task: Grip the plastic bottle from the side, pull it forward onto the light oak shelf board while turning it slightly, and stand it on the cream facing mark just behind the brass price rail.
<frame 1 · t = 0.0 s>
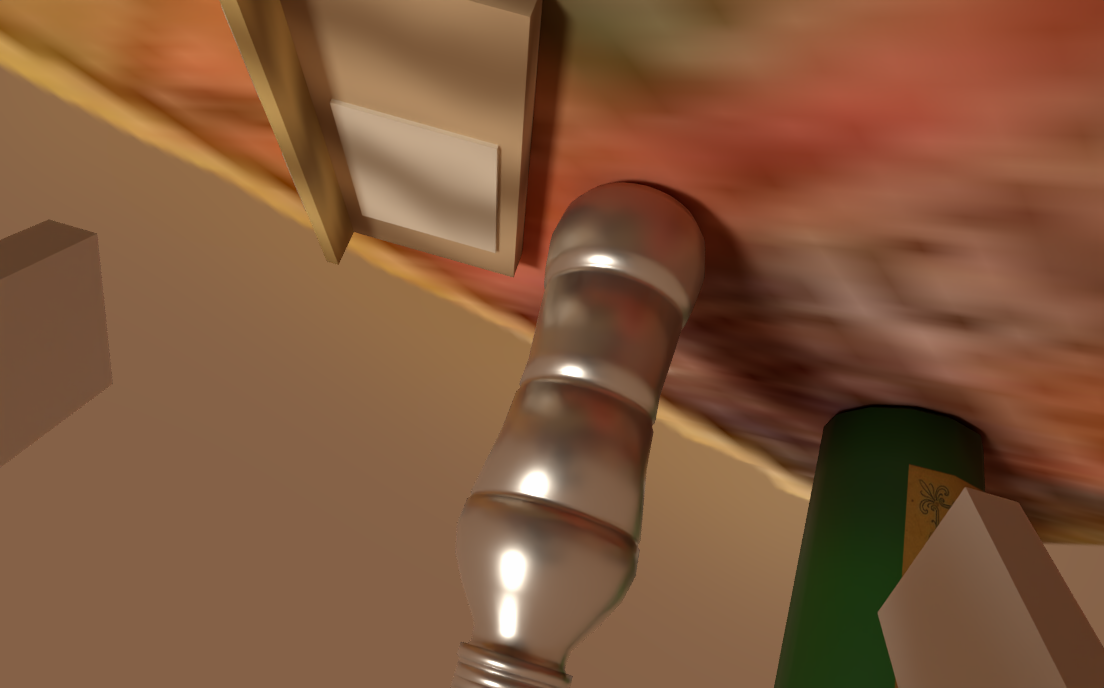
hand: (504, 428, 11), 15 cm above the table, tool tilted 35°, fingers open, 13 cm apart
bottle: (901, 427, 43), on the table
plastic bottle: (640, 208, 31), on the table
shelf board: (424, 122, 29), on the table
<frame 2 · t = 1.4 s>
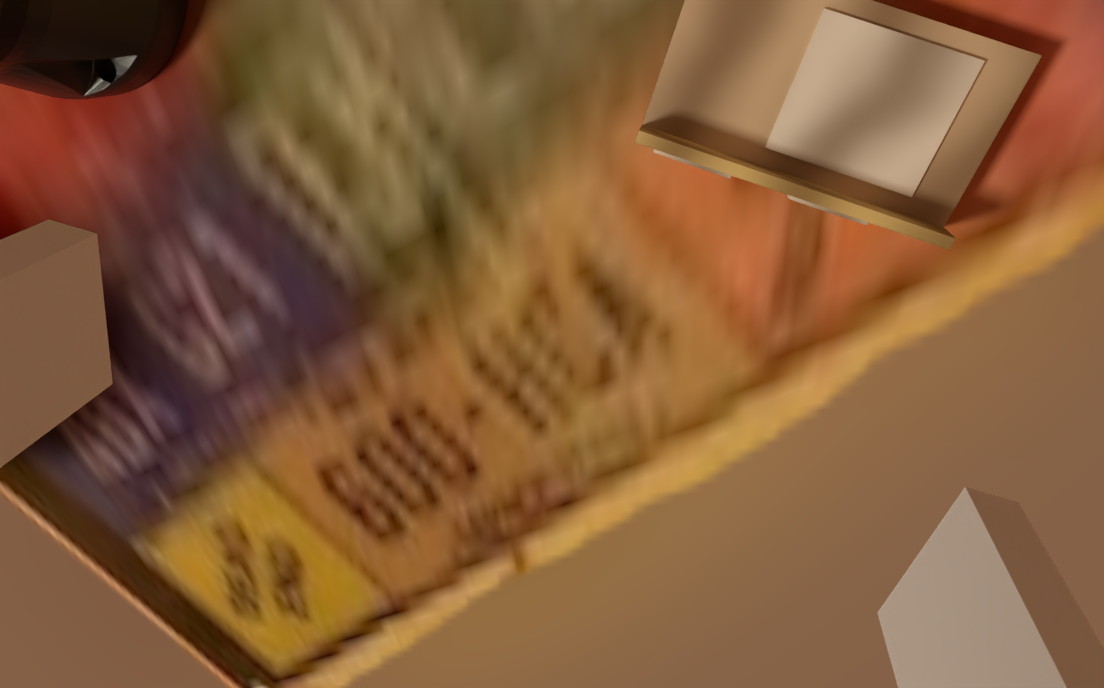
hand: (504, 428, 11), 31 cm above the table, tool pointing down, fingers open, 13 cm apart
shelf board: (821, 95, 36), on the table
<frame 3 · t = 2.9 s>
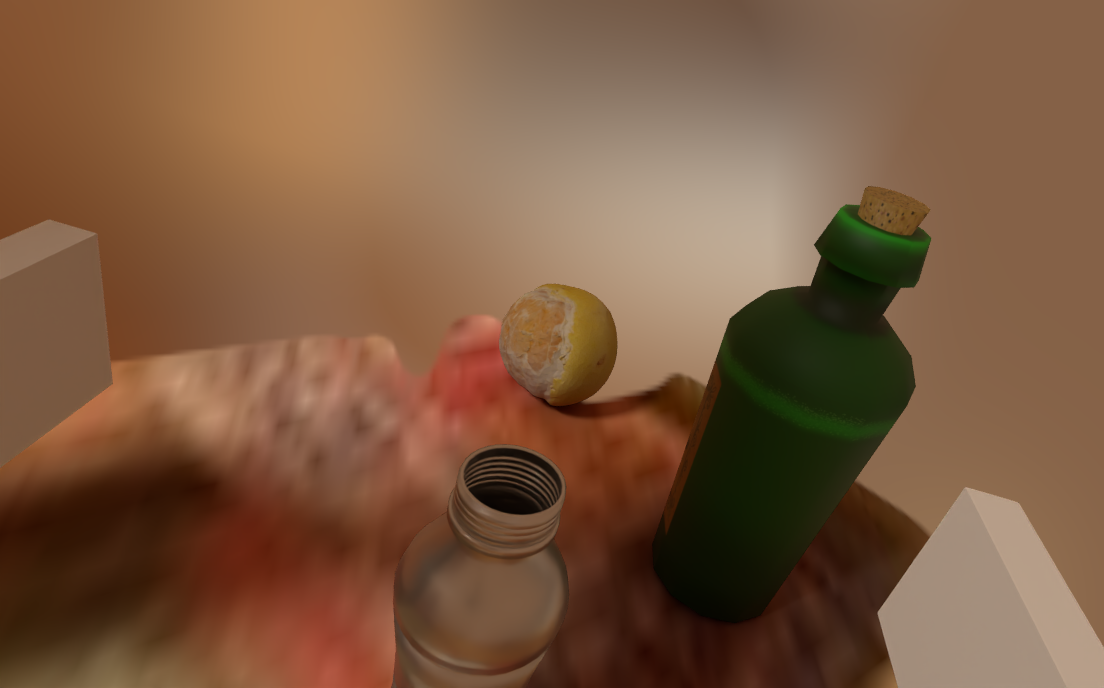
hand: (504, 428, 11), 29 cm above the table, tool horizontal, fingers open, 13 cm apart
fruit: (543, 392, 65), on the table
bottle: (707, 576, 50), on the table
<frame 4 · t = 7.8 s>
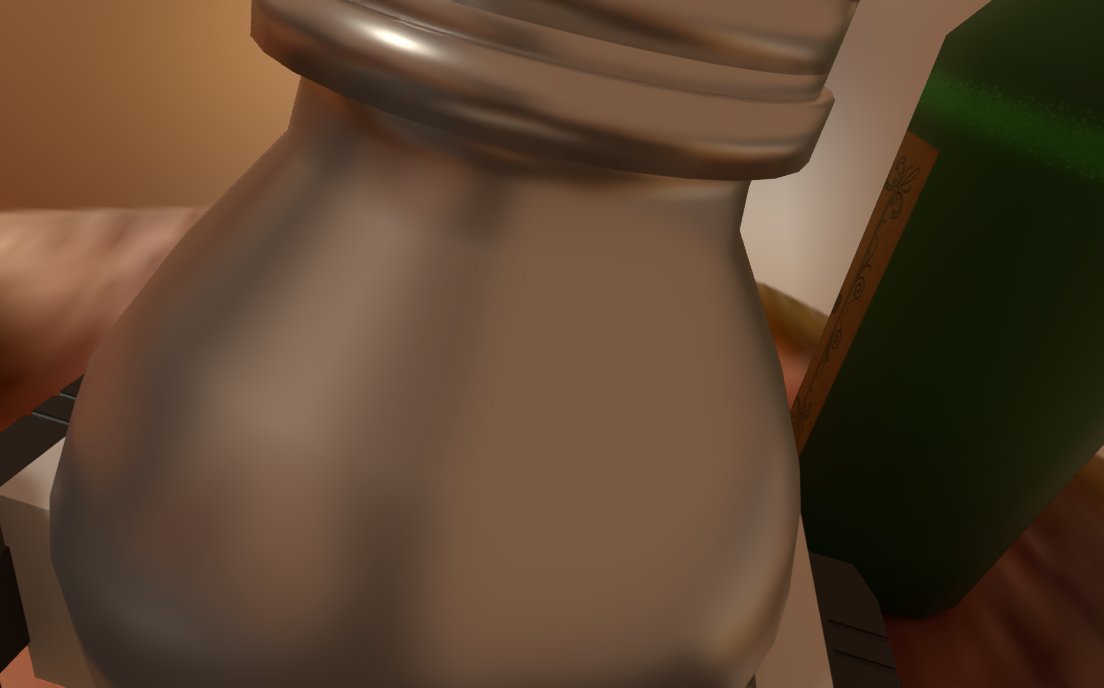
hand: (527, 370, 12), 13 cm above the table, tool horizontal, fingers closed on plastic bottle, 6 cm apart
bottle: (849, 542, 30), on the table
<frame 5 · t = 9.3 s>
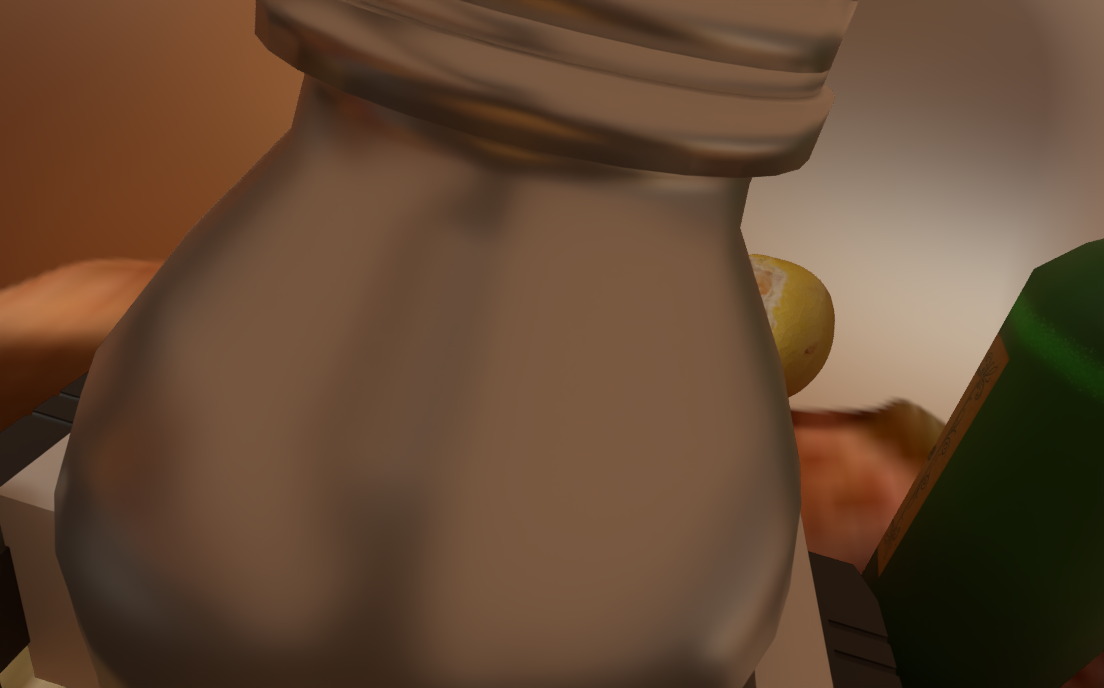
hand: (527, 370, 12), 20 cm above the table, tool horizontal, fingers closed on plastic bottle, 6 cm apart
fruit: (728, 386, 53), on the table
bottle: (929, 653, 36), on the table
when the fingers open (15 cm above the table, at t = 10.8 s): plastic bottle stays where it is, resting on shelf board.
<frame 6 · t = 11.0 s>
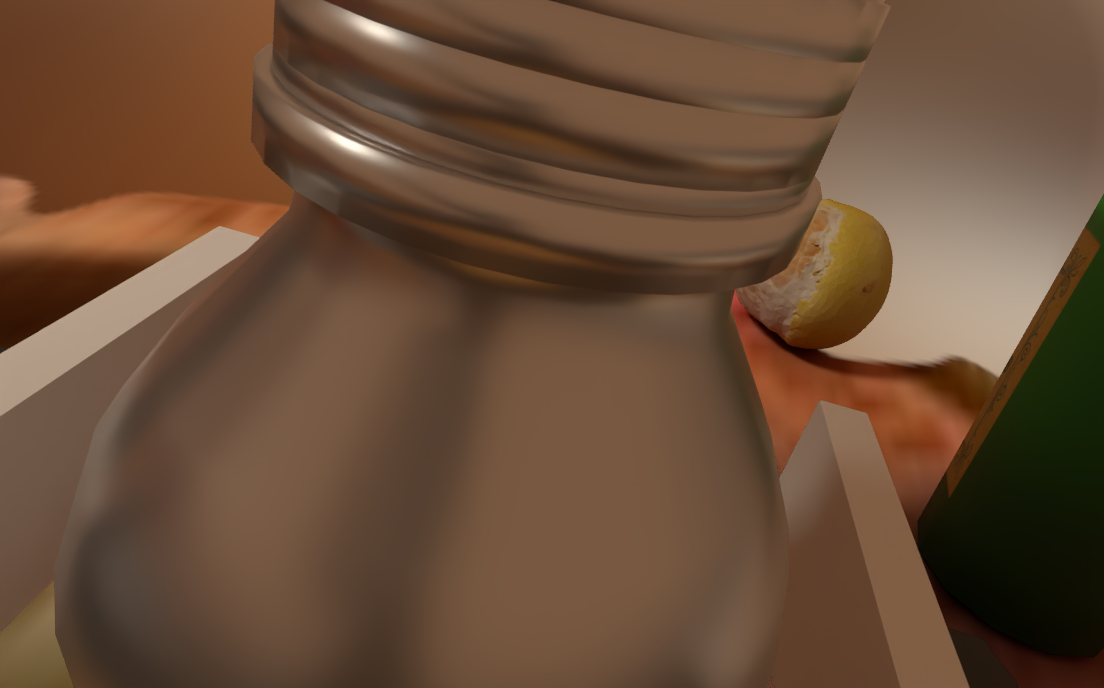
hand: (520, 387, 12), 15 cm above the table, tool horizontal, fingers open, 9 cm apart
fruit: (778, 335, 52), on the table
bottle: (1000, 585, 34), on the table
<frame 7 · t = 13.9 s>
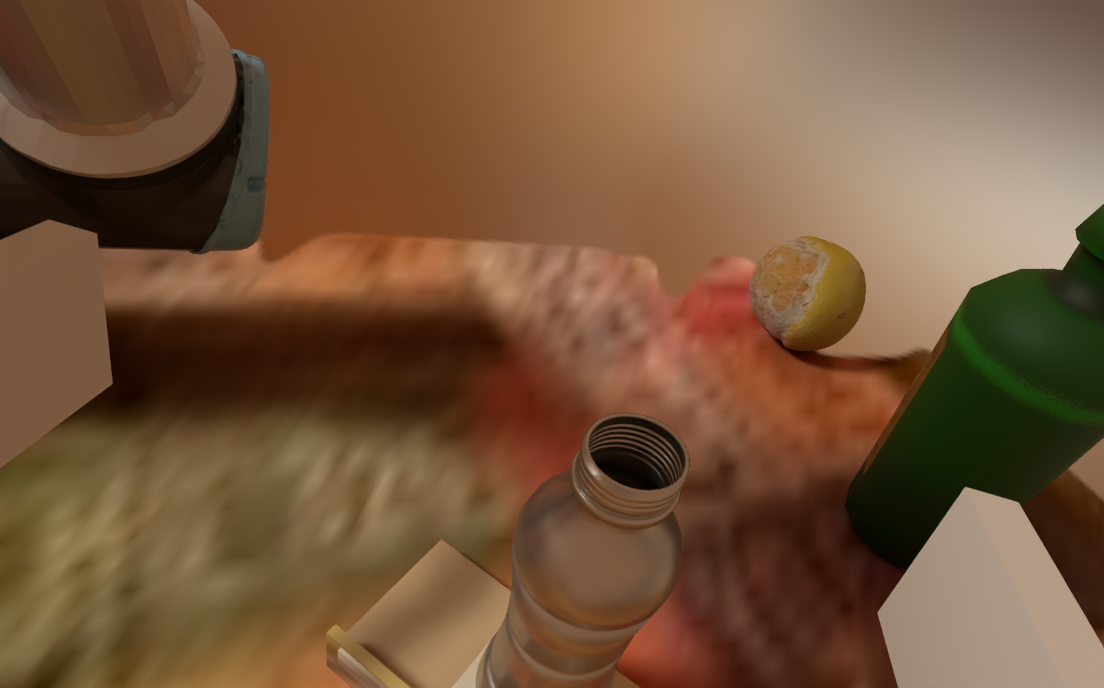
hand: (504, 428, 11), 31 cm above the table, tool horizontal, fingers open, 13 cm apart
fruit: (781, 336, 70), on the table
bottle: (897, 528, 54), on the table
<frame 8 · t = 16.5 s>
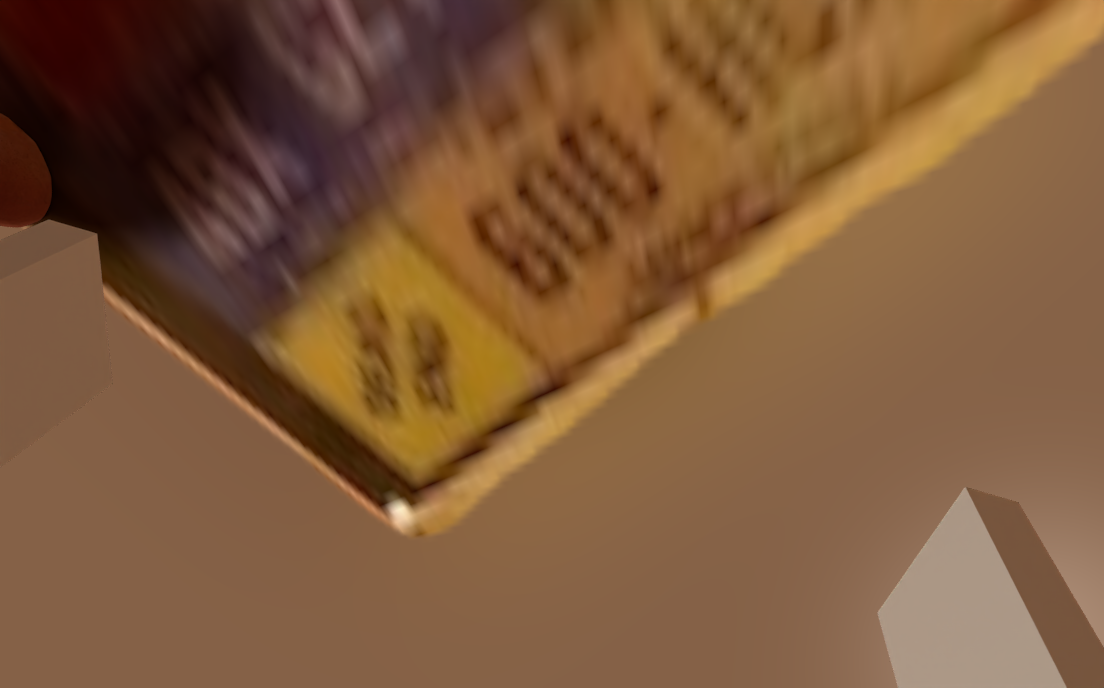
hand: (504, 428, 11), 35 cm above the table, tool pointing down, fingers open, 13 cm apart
goblet: (0, 165, 51), on the table
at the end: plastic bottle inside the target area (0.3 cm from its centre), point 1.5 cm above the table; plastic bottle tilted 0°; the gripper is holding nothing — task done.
